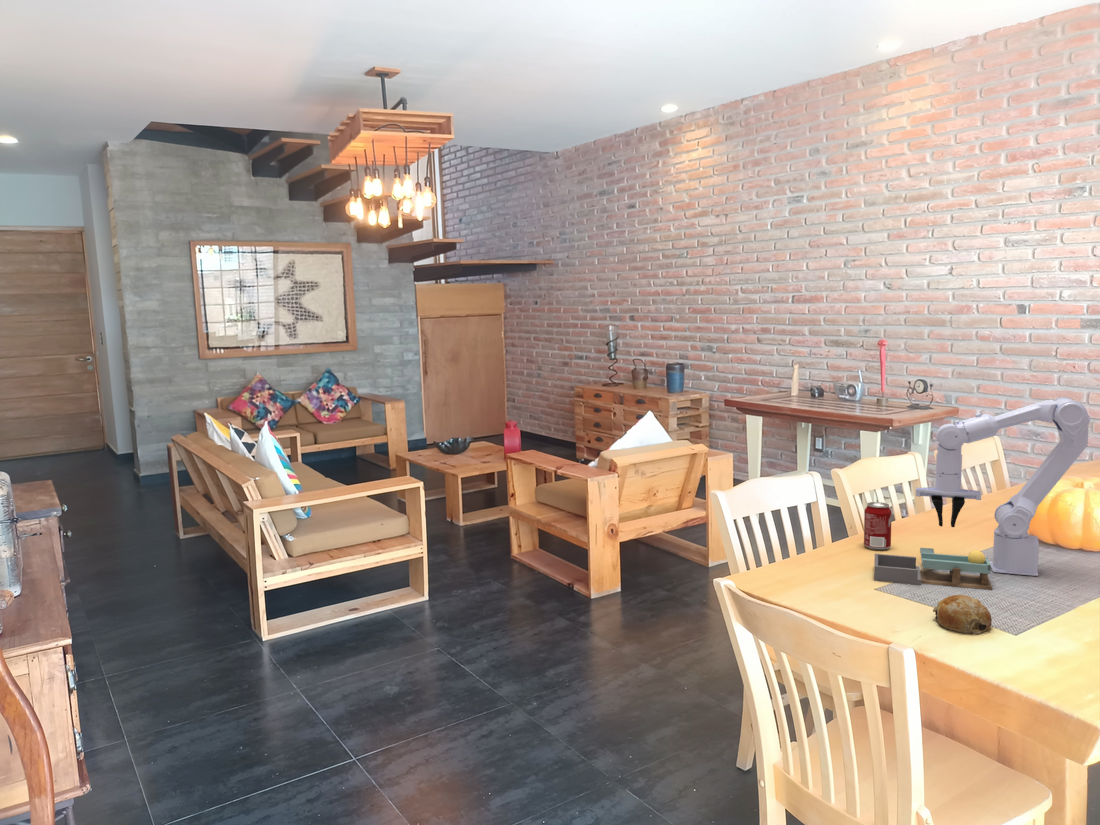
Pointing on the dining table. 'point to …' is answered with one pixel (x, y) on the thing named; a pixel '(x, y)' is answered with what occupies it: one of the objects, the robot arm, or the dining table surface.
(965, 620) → the bread roll
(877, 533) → the soda can
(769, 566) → the dining table surface
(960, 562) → the lever
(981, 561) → the ball
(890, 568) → the tray
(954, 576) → the base
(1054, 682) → the dining table surface
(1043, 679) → the dining table surface
